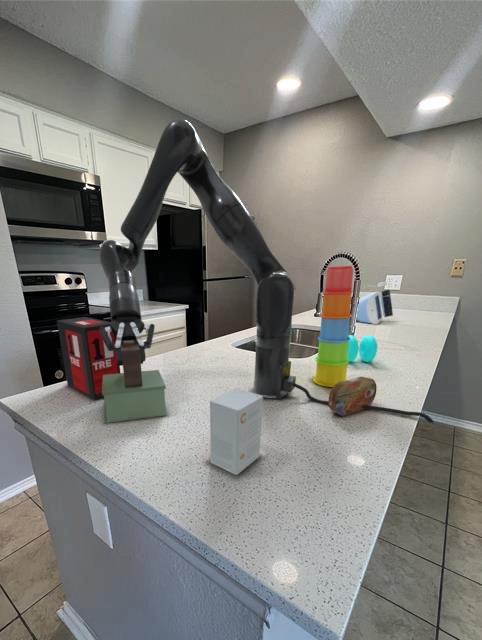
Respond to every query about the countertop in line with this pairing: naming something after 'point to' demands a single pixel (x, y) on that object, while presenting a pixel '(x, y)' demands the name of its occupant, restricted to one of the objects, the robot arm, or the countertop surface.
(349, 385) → the tin
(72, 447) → the countertop surface
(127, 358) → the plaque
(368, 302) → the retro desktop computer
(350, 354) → the cyan double-lobed piece
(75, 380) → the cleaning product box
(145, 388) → the toy box
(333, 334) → the stacking cups
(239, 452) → the small box
